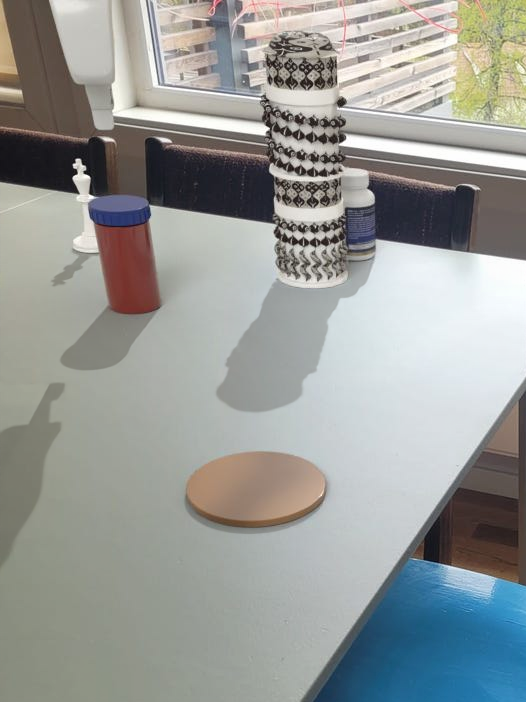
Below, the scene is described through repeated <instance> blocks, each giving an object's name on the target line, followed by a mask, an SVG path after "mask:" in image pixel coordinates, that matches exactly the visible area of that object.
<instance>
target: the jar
mask: <svg viewBox="0 0 526 702" xmlns="http://www.w3.org/2000/svg"><path fill="white" fill-rule="evenodd" d="M93 224H94V229H95V235H96V240H97V246H98V251H99V253H98V255H99V262H100V266H101V273H102V278H103V283H104V289H105V293H106V300H107V306H108V308H109V309H110V310H111V311H113V312H115V313H119V314H125V315H126V314H128V315H136V314H138V315H139V314H145V313H150V312H154V311H156V310H158V309H159V308H160V307H161V306H162V304H163V302H162V295H161V289H160V281H159V276H158V268H157V262H156V255H155V250H154V249H155V248H154V242H153V235H152V229H151V222H150V219H149V220H147V221H145V222H143V223H139V224H135V225H128V226H109V225H102V224H98V223H95V222H93Z"/></svg>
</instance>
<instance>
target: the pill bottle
mask: <svg viewBox="0 0 526 702" xmlns="http://www.w3.org/2000/svg"><path fill="white" fill-rule="evenodd" d="M369 175H370V173H369V171H367V170H366V169H362V168H355V167H354V168H353V167H349V168H348V167H347V168H344V175H342V176H341V197H342V198H343V213H344V214H345V216H346V218H347V221H346V222H345V225H344V226H343V227H344V228H345V230H346V231H347V235H346V238H345V239H344V240H343V241H344V242H345V243H346V246H347V247H348V251H347V252H346V253H347V255H346V258H347V260H348V261H354V262H355V261H356V262H359V261H366V260H369V259H372V258H373V257H375V255H376V252H377V251H376V250H377V245H376V244H377V242H376V241H377V240H376V197H375V193H374V192H373V191H371V190H370V189H368V187H369V186H370V176H369Z"/></svg>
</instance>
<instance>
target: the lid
mask: <svg viewBox="0 0 526 702" xmlns="http://www.w3.org/2000/svg"><path fill="white" fill-rule="evenodd" d="M94 198H95V199H93V200H91V201H90V202H89V203H88V211H89V216H90V219H91V220H92V221H93V222H95V223H98V224H102V225H109V226H128V225H135V224H139V223H143V222H145V221H147V220H149V221H150V219H151V217H152V210H151V206H150V203H149V201H148V200H147V199H146V198H144V197H142V196H137V195H129V194H110V195H104V196H99V197H94Z"/></svg>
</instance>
